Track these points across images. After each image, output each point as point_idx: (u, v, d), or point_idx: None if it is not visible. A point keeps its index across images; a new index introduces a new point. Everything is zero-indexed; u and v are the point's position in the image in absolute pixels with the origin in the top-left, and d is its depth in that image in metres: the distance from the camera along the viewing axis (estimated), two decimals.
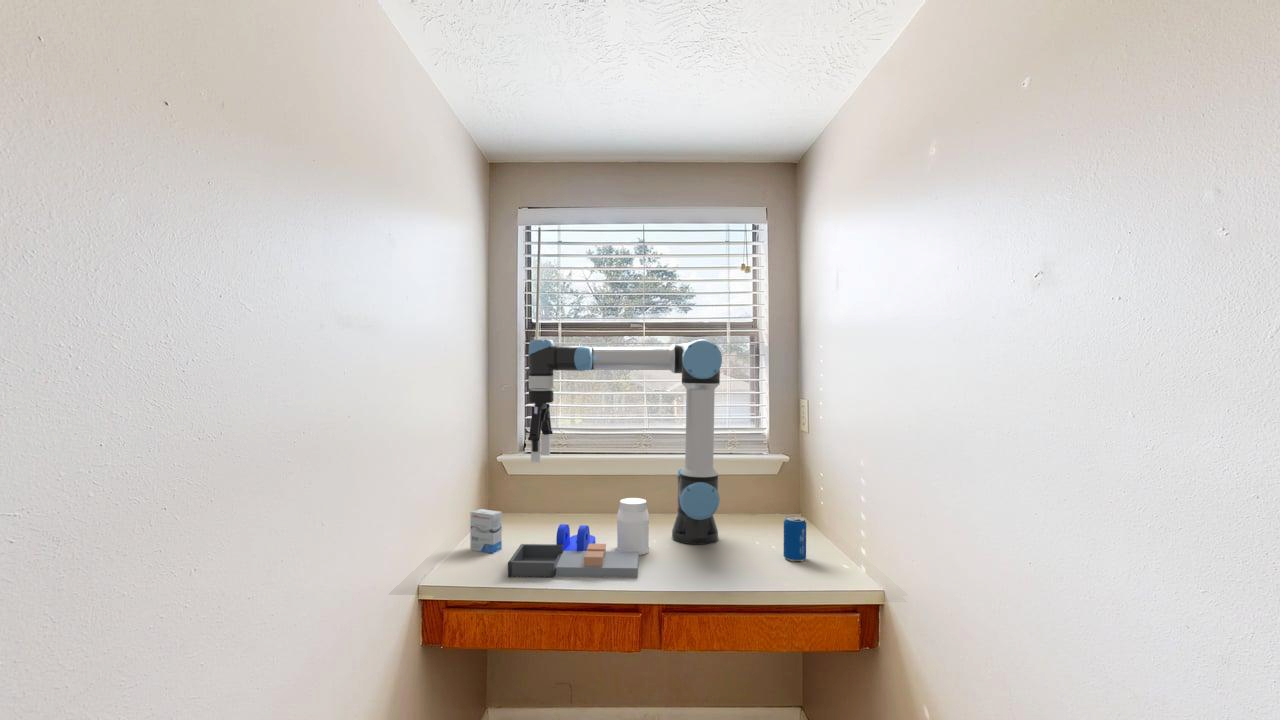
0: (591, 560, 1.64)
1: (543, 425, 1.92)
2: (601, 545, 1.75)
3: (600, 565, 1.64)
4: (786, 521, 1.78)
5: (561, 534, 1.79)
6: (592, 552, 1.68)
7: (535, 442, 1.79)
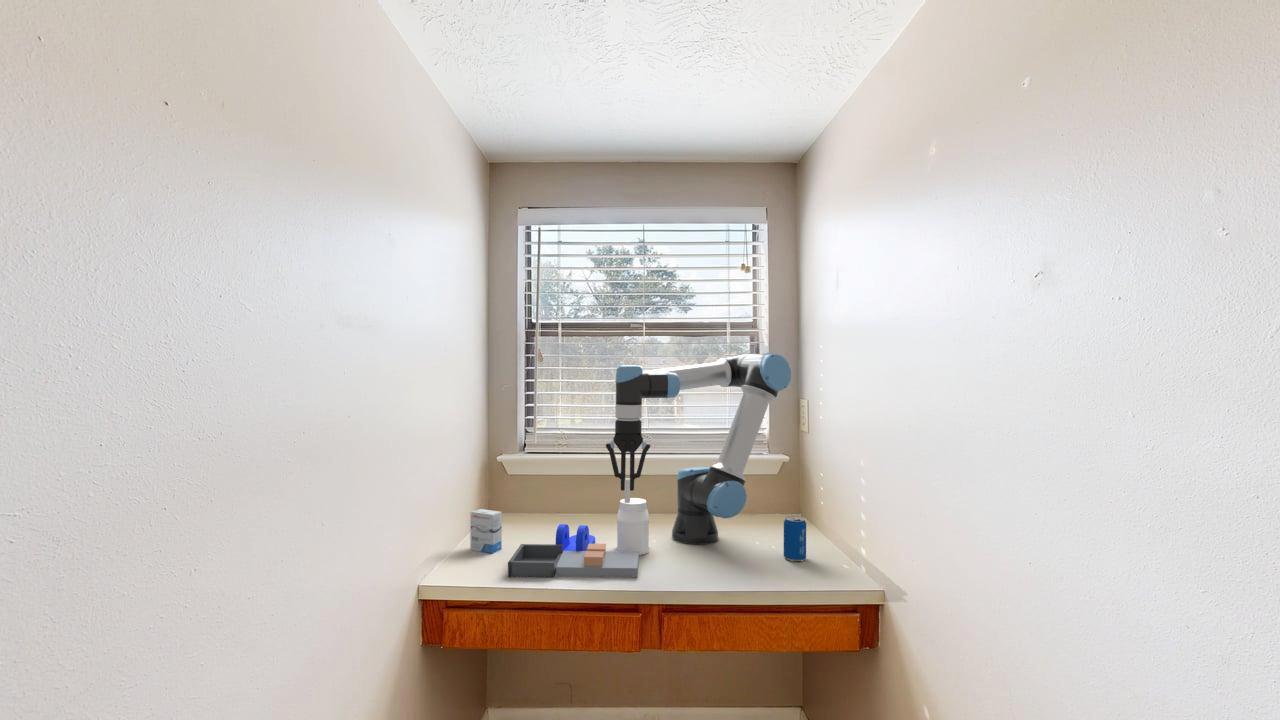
0: (591, 560, 1.64)
1: None
2: (601, 545, 1.75)
3: (600, 565, 1.64)
4: (786, 521, 1.78)
5: (560, 534, 1.79)
6: (592, 552, 1.68)
7: None
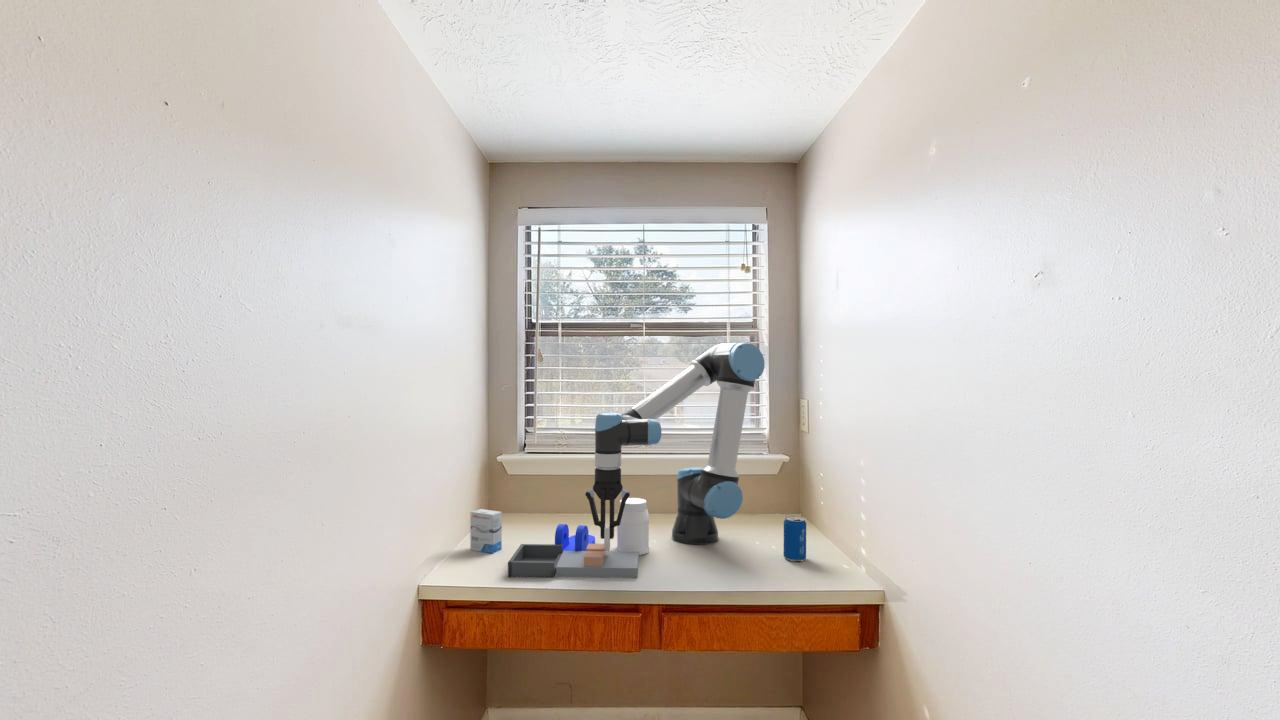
0: (591, 560, 1.64)
1: None
2: (601, 545, 1.75)
3: (600, 565, 1.64)
4: (786, 521, 1.78)
5: (560, 534, 1.79)
6: (592, 552, 1.68)
7: None
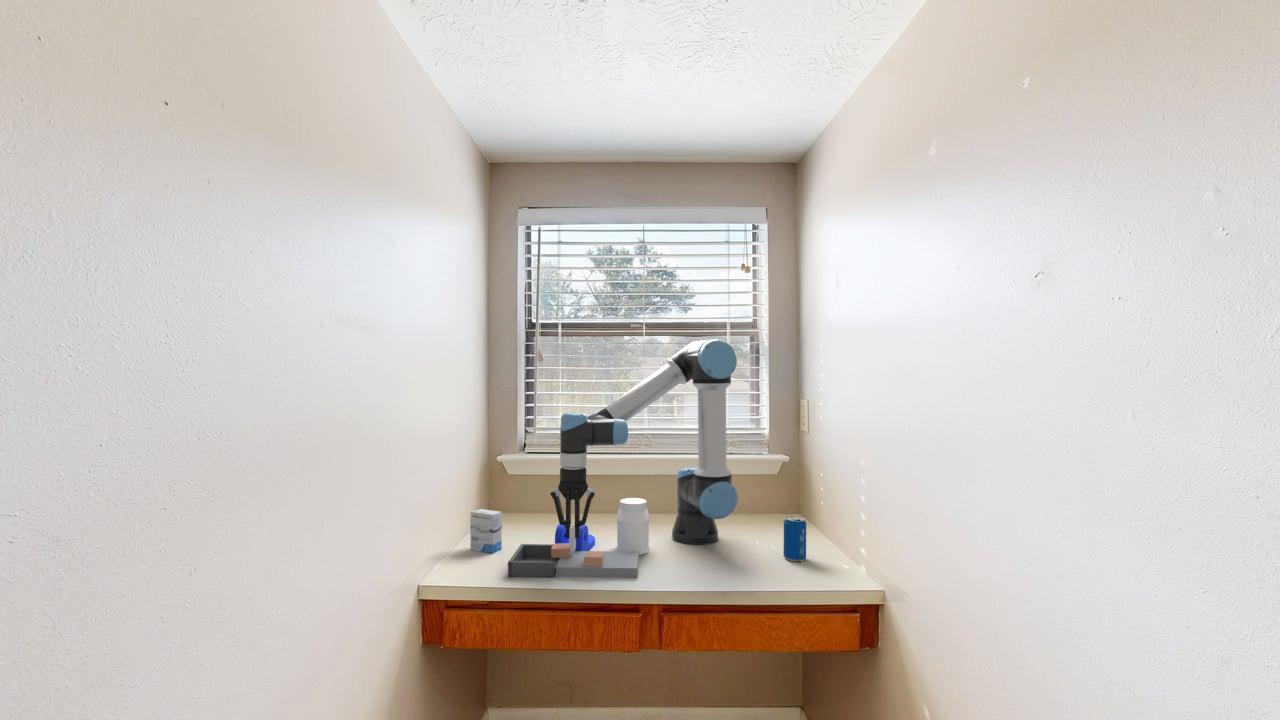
0: (591, 560, 1.64)
1: None
2: (566, 544, 1.75)
3: (600, 565, 1.64)
4: (786, 521, 1.78)
5: (560, 533, 1.79)
6: (592, 552, 1.68)
7: None
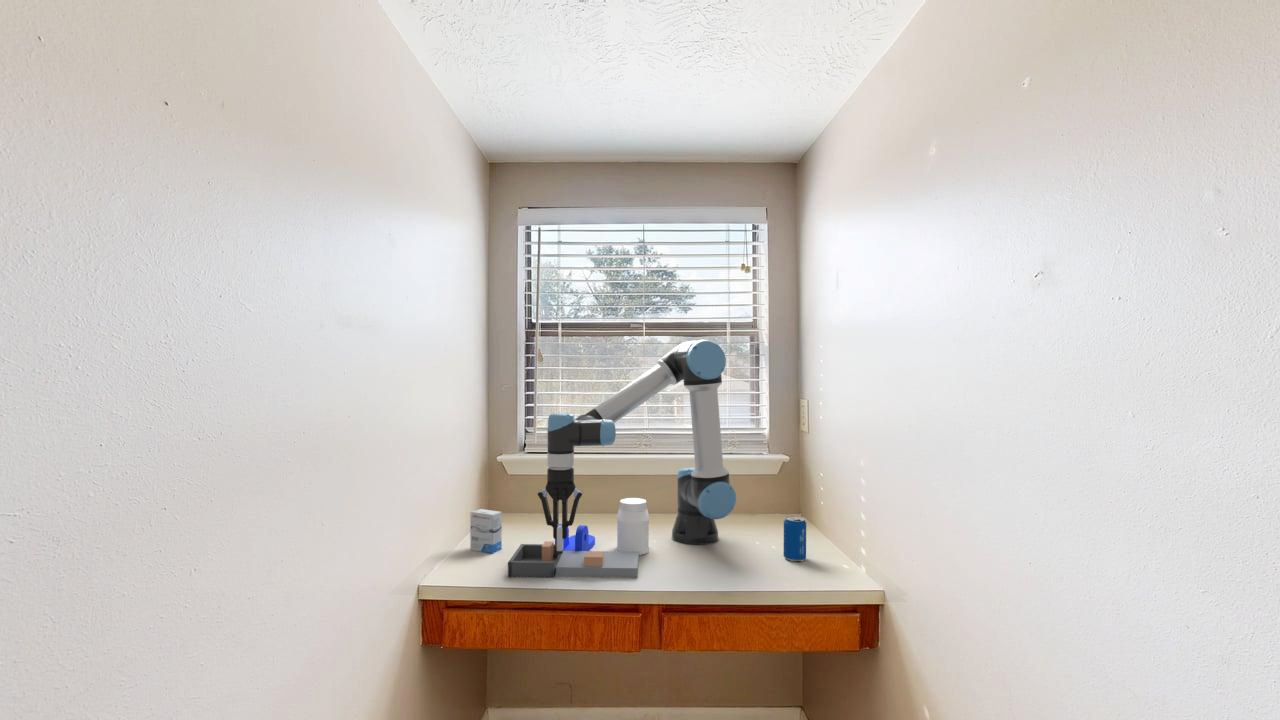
0: (591, 560, 1.64)
1: None
2: None
3: (600, 565, 1.64)
4: (786, 521, 1.78)
5: None
6: (592, 552, 1.68)
7: None
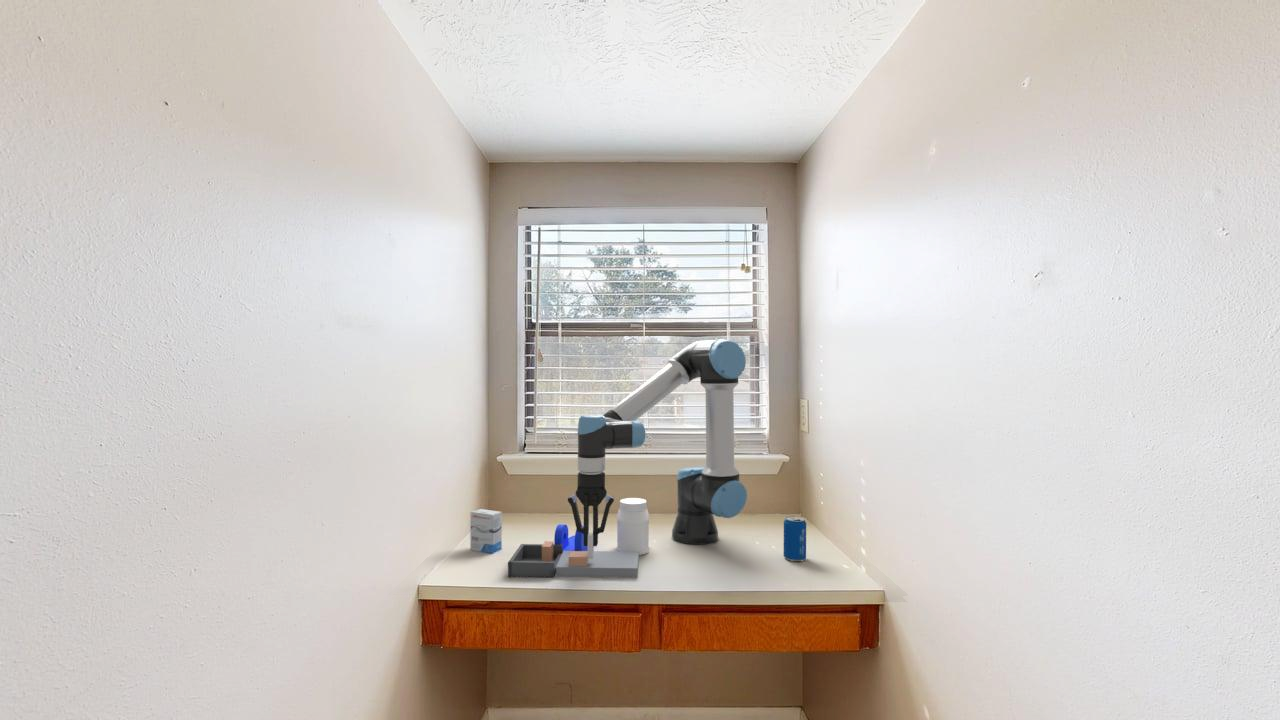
0: (576, 560, 1.64)
1: None
2: None
3: (585, 565, 1.64)
4: (786, 521, 1.78)
5: (559, 534, 1.79)
6: (577, 552, 1.68)
7: None
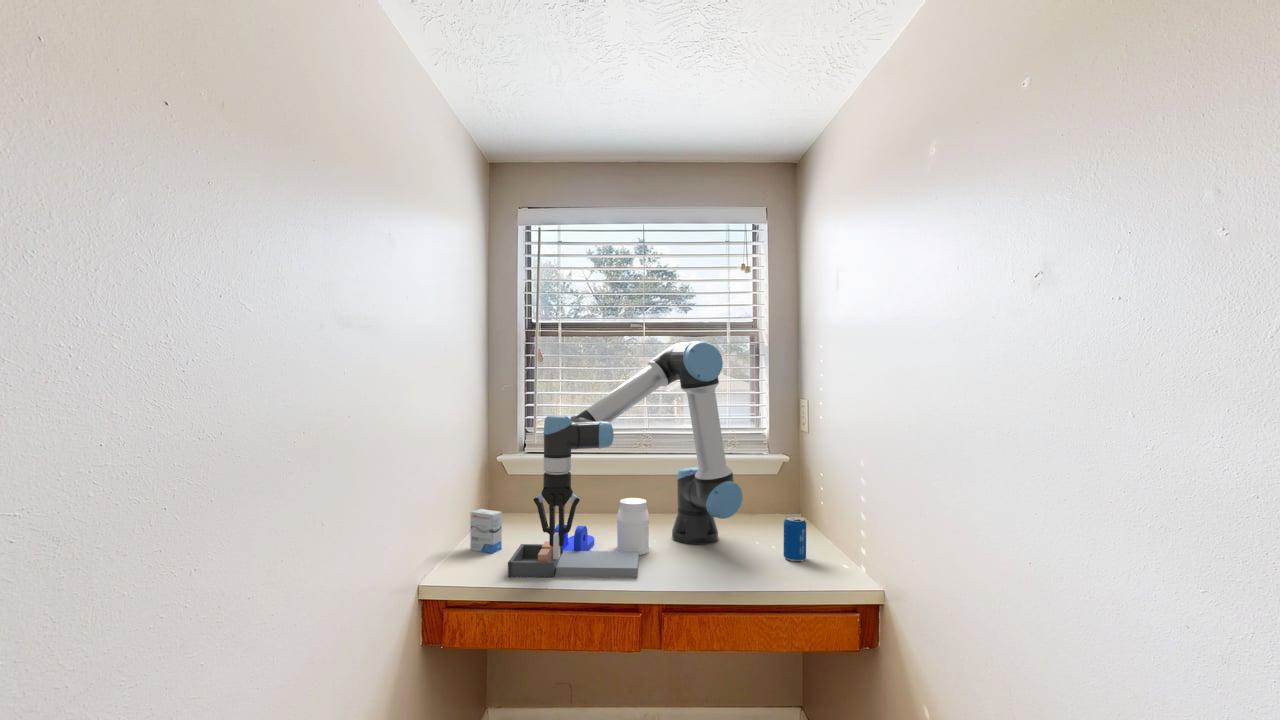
0: None
1: None
2: None
3: (546, 556, 1.64)
4: (786, 521, 1.78)
5: None
6: None
7: None
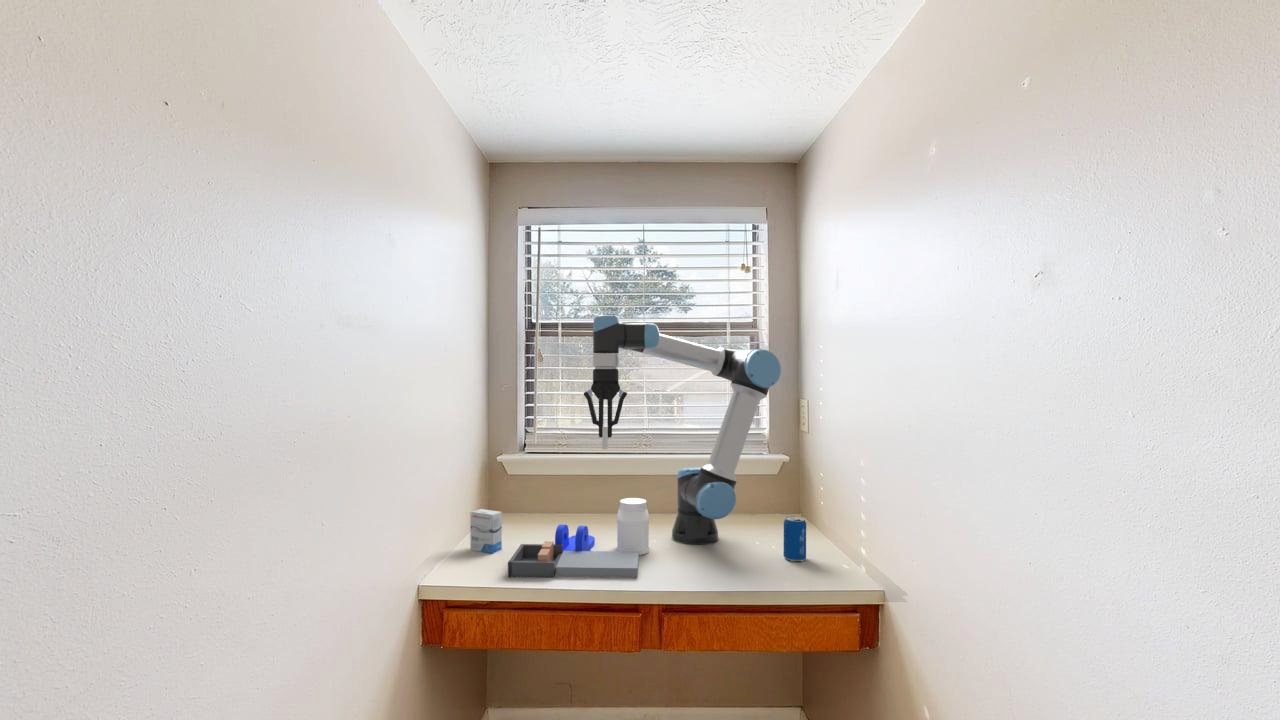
0: None
1: None
2: None
3: (546, 556, 1.64)
4: (786, 521, 1.78)
5: (560, 534, 1.79)
6: None
7: None
